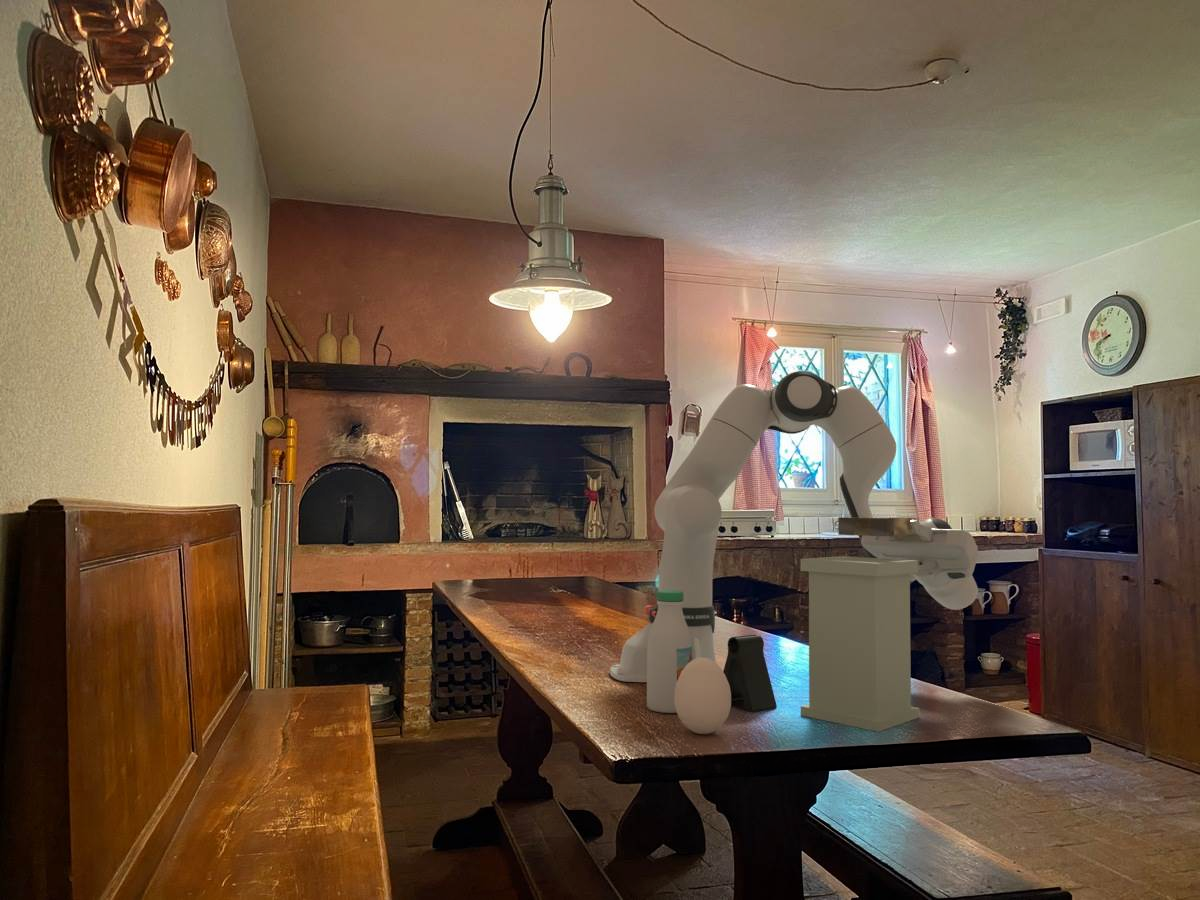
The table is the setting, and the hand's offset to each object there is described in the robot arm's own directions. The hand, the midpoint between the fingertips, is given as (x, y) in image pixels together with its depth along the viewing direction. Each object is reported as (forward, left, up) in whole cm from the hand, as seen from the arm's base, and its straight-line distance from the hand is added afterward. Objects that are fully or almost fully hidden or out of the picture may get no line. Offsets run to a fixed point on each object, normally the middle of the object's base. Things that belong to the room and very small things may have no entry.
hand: (899, 523), depth 156 cm
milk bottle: (-43, -2, -32) cm, 53 cm away
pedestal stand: (-12, -9, -32) cm, 35 cm away
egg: (-41, -18, -32) cm, 55 cm away
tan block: (-4, -3, -2) cm, 5 cm away
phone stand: (-29, 0, -32) cm, 43 cm away
